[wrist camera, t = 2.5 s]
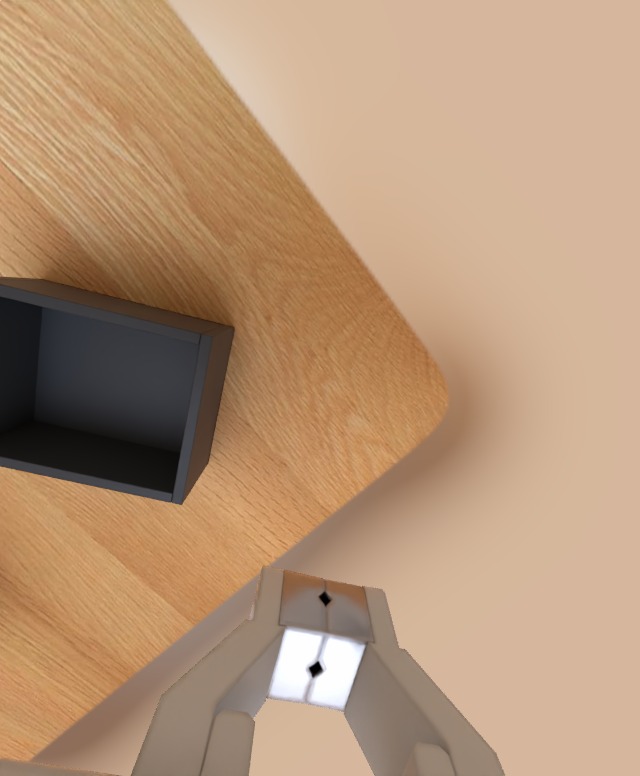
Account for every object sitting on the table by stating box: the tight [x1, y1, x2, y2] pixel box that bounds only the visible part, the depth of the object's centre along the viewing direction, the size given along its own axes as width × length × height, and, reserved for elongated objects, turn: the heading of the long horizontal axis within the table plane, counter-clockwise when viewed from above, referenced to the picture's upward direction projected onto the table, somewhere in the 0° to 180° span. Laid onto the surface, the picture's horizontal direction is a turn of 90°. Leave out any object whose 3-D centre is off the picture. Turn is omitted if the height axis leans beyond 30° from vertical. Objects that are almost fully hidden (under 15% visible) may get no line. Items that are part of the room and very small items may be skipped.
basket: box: [0, 277, 235, 505], centre depth 18 cm, size 10×8×4 cm
